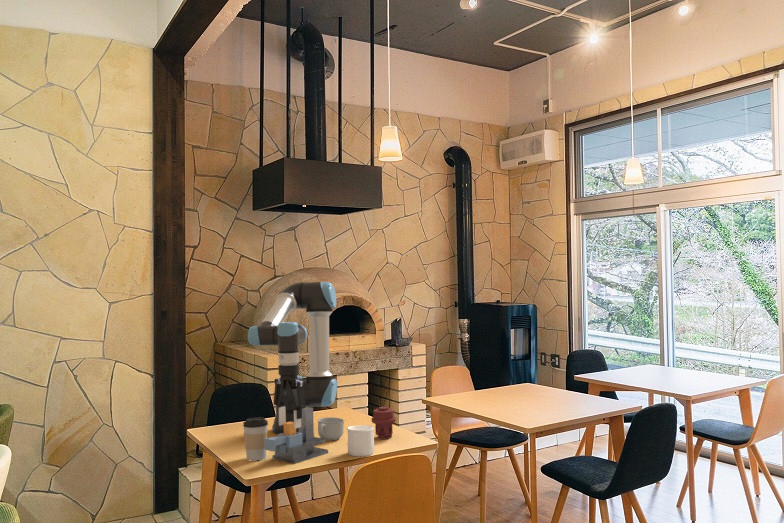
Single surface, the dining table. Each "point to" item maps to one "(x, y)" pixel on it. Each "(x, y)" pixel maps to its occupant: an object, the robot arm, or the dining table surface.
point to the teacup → (330, 428)
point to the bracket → (283, 442)
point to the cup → (360, 440)
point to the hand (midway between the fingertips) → (289, 426)
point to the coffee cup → (255, 438)
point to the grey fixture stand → (303, 442)
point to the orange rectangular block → (289, 429)
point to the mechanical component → (383, 422)
